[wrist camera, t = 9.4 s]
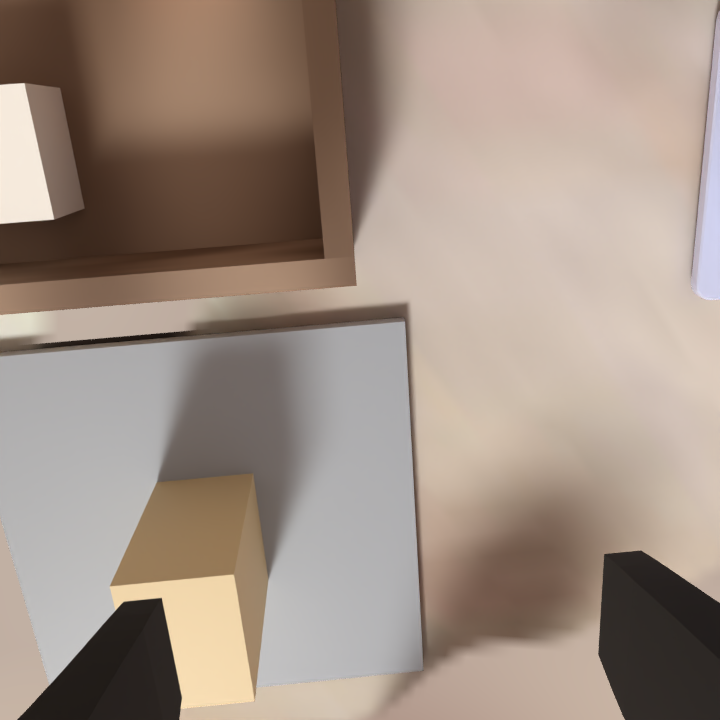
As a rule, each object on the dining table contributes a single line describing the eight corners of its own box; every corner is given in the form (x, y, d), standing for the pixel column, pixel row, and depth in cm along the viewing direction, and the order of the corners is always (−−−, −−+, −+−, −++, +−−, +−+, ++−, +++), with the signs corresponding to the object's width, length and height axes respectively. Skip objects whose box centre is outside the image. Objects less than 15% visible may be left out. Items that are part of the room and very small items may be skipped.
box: (310, -264, 15) (308, -369, 12) (350, 258, 19) (356, 285, 16) (-227, -233, 15) (-380, -332, 12) (-74, 291, 19) (-157, 327, 16)
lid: (401, 312, 21) (431, 384, 15) (419, 650, 25) (448, 804, 19) (-29, 349, 20) (-164, 437, 15) (66, 685, 25) (-10, 852, 19)
